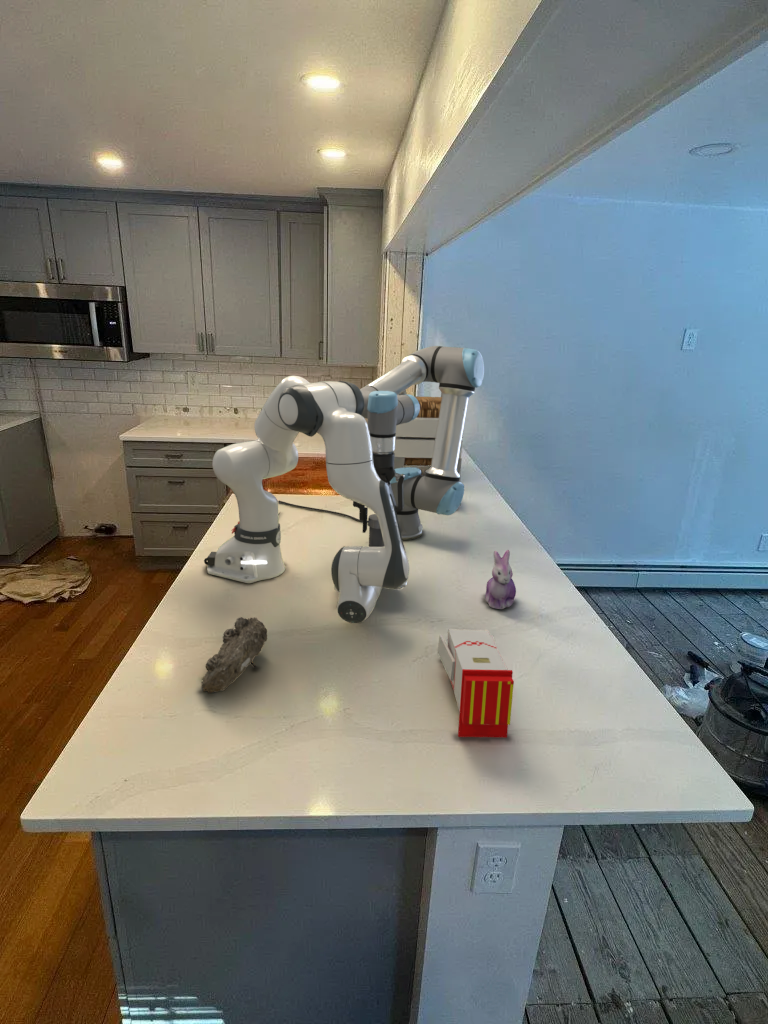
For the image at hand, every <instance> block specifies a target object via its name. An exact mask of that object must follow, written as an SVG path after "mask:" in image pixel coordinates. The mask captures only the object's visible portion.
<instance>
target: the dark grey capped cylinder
mask: <svg viewBox="0 0 768 1024" xmlns="http://www.w3.org/2000/svg"><path fill="white" fill-rule="evenodd" d="M368 527H369V526H368ZM368 529H369V530H368V547H383V546H384V541H383V537H382V532H381V529H376V528H371V527H369V528H368Z"/></svg>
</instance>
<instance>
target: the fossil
mask: <svg viewBox="0 0 768 1024" xmlns="http://www.w3.org/2000/svg"><path fill="white" fill-rule="evenodd" d="M265 626H266V625H265V624H264V622H262V621H260V620H259V619H258V618H257V617H248V618H245V617H241V616H239V617H238V618H236V620H235V622H234V625H233V627H234V628H228V629H226V630H225V631H224V632H223V634H222V642H223V643H222V645H221V647H219V648H220V649H219V650H218V653H215V654H212V656H211V657H210V658H208V660H207V661H206V662H205V663H206V664H205V670H206V671H207V672H205V674H204V676H203V677H201V686H202V687H201V688H202V691H204V692H207V693H210V694H212V693H213V694H214V693H216V692H222V691H225V690H226V689H227V688H228V687H229V686H230V685H232V684H233V683H234V682H235V681H236V680H237V679H238V678H239V677H240V676H241V675H242V674H243V673H245V671H247V668H248V666H249V665H251V666H252V667H253V668H254V669H257V665H256V664H255V663H254V661H253V660H254V659H255V657H257V656H259V654H260V653H261V652H262V649H263V647H264V646H265V643H266V642H267V641H268V629H267V628H266V627H265Z"/></svg>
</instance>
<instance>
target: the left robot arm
mask: <svg viewBox="0 0 768 1024" xmlns="http://www.w3.org/2000/svg"><path fill="white" fill-rule="evenodd" d="M360 389H361V388H359V386H358V385H356V384H355V383H353V382H349V381H344V380H338V381H331V380H330V381H329V380H324V381H323V380H321V381H316V382H310V381H309V380H307V379H306V378H304V377H302V376H300V375H289V376H286V377H284V378H283V379H282V380H281V381H280V382H279V383H278V384H277V385H276V387H275V388H274V389H273V390H272V391H271V393H270V394H269V396H268V397H267V399H266V401H265V402H264V404H263V406H262V407H261V410H260V411H259V414H258V415H257V417H256V419H255V421H254V432H255V435H256V437H257V438H256V439H253V440H249V441H243V442H242V441H241V442H237V443H236V442H235V443H232V444H229V445H226V446H224V447H222V448H219V449H217V451H216V452H215V453H214V455H213V457H212V463H211V464H212V470H213V473H214V475H215V477H216V478H217V480H218V481H220V482H221V483H222V484H224V485H225V486H227V487H228V488H229V489H230V490H231V491H232V492H233V494H234V497H235V499H236V502H237V508H238V519H239V521H237V523H236V525H234V526H233V528H232V529H231V530H230V531H231V535H232V534H234V535H233V536H231V537H230V538H229V539H227V540H226V541H225V542H224V543H222V544H220V546H219V547H218V548H217V550H216V551H210V553H209V554H208V556H207V557H206V558H204V560H203V562H204V564H205V565H206V566H207V568H206V572H207V574H209V575H213V576H216V577H221V578H225V579H229V580H233V581H237V582H241V583H244V584H252V583H256V582H259V581H263V580H270V579H274V578H276V577H278V576H280V575H282V574H283V573H284V572H285V570H286V566H285V562H284V560H283V555H282V548H281V542H282V541H281V539H282V532H281V524H280V521H279V516H278V514H279V502H278V501H279V500H278V499H277V496H276V495H274V494H273V493H272V492H270V491H267V490H265V489H264V487H263V480H266V479H271V478H275V477H279V476H282V475H285V474H286V473H289V472H291V471H292V470H294V469H295V468H296V467H297V465H298V463H299V451H298V448H297V446H296V444H295V443H294V442H295V440H296V438H297V436H299V434H300V433H302V434H304V435H305V436H307V437H310V438H312V437H314V436H315V435H316V434H318V435H319V436H320V437H321V438H322V440H323V442H324V449H325V467H326V468H325V469H326V477H327V481H328V483H329V485H330V487H331V488H332V489H333V490H334V491H335V493H337V494H338V495H339V496H341V497H343V498H345V499H347V500H350V501H352V502H353V501H355V502H357V503H360V504H362V505H364V506H365V507H367V508H368V509H370V510H371V512H373V514H376V515H377V517H378V520H379V524H380V528H381V532H382V537H383V541H384V546H383V547H369V546H363V545H343V546H342V547H341V548H340V549H339V550H338V551H337V552H336V554H334V557H333V559H332V563H331V579H332V583H333V586H334V587H333V588H334V591H336V592H338V599H337V604H336V611H337V615H338V616H339V617H340V619H342V620H343V621H344V622H347V623H350V624H361V623H363V622H365V621H366V620H367V619H368V618H369V617H370V616H371V614H372V612H373V611H374V609H375V607H376V604H377V600H378V599H379V597H380V594H381V592H382V589H389V590H397V591H398V590H402V589H403V588H406V587H407V584H408V581H409V575H410V562H409V558H408V555H407V551H406V548H405V545H404V542H403V541H404V540H402V537H401V532H400V528H399V523H398V519H397V514H396V510H395V506H394V502H393V498H392V494H391V491H390V489H389V486H388V484H387V483H386V482H384V481H382V480H381V479H380V478H379V476H378V474H377V473H376V470H375V467H374V463H373V450H372V443H371V437H370V432H369V428H368V420H366V418H364V417H363V416H361V415H362V413H363V409H364V398H363V395H362V392H361V390H360Z"/></svg>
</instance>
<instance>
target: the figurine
mask: <svg viewBox="0 0 768 1024" xmlns="http://www.w3.org/2000/svg"><path fill="white" fill-rule="evenodd" d="M510 555H511V551H510V550H509V549H506V550H505V552H504V553H503V555H502V557H501V555H500V553H499V552H498V551H497V550H494V551H493V558H494V559H493V562H494V565H493V568H492V570H491V575H492V577H490V578H489V579H488V580H487V583H486V586H485V589H486V590H485V594H484V596H485V597H484V599H485V602H486V603H487V604H488V607H490V608H492V609H498V610H504V609H505V608H510V607H511V606H512V605H513V603H514V602H515V597H516V596H517V595H516V594H517V588H516V584H515V581H514V580H513V576H514V575H513V574H514V573H513V570H512V567H511V565H510Z"/></svg>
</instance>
